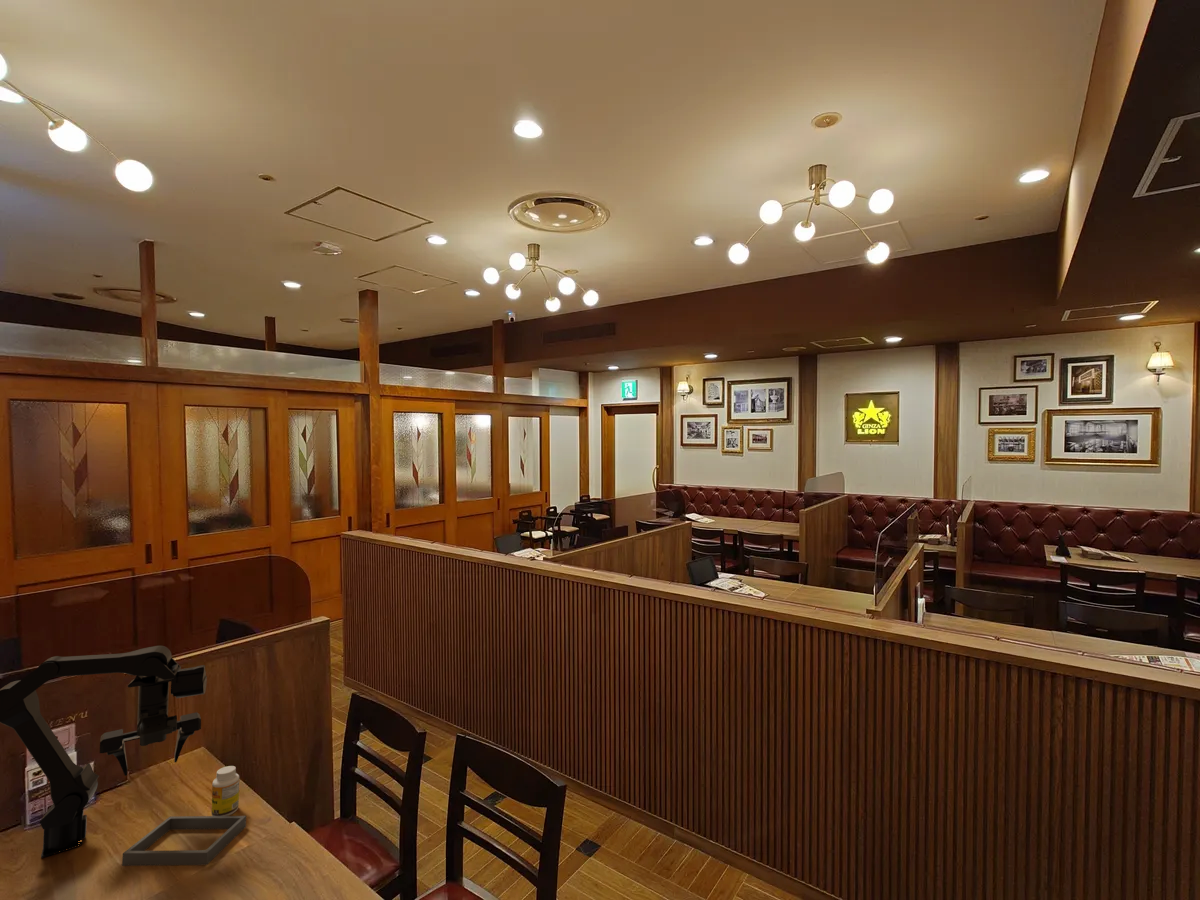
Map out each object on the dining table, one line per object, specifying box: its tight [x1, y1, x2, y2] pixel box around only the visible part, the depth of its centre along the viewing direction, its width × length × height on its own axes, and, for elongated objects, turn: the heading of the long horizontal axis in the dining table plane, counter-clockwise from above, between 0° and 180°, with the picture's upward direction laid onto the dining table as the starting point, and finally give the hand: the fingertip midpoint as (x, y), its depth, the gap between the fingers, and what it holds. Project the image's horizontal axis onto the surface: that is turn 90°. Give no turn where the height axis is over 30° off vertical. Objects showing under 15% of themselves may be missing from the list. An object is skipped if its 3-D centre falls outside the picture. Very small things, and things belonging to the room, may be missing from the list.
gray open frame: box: [121, 815, 247, 867], centre depth 124 cm, size 18×13×2 cm
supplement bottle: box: [211, 765, 240, 816], centre depth 137 cm, size 6×6×10 cm
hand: (151, 768), depth 133 cm, fingers open, 9 cm apart
